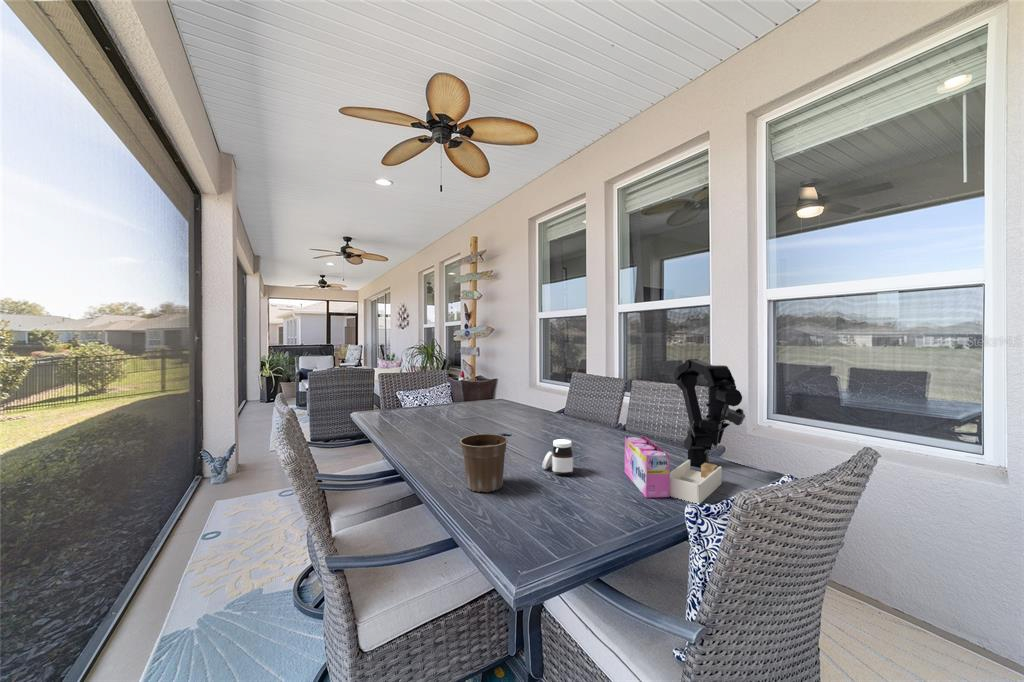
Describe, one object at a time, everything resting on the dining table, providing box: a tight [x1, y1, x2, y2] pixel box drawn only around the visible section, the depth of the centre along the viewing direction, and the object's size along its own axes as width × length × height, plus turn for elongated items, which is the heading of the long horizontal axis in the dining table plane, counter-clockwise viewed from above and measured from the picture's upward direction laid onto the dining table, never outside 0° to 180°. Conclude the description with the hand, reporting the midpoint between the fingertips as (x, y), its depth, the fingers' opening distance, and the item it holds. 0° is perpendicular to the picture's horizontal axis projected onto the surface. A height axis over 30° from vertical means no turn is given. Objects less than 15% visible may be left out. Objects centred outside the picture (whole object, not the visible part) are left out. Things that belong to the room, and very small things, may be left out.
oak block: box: [700, 462, 718, 478], centre depth 139 cm, size 4×4×4 cm
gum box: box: [624, 435, 671, 498], centre depth 140 cm, size 24×8×14 cm, turn 2°
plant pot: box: [459, 433, 508, 493], centre depth 139 cm, size 16×16×16 cm
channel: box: [669, 459, 723, 504], centre depth 135 cm, size 11×22×6 cm, turn 137°
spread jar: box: [541, 438, 574, 477], centre depth 152 cm, size 12×11×12 cm
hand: (716, 444), depth 145 cm, fingers open, 3 cm apart
